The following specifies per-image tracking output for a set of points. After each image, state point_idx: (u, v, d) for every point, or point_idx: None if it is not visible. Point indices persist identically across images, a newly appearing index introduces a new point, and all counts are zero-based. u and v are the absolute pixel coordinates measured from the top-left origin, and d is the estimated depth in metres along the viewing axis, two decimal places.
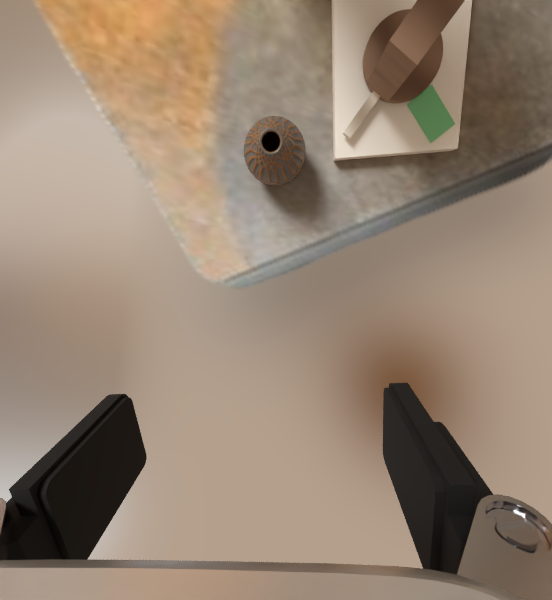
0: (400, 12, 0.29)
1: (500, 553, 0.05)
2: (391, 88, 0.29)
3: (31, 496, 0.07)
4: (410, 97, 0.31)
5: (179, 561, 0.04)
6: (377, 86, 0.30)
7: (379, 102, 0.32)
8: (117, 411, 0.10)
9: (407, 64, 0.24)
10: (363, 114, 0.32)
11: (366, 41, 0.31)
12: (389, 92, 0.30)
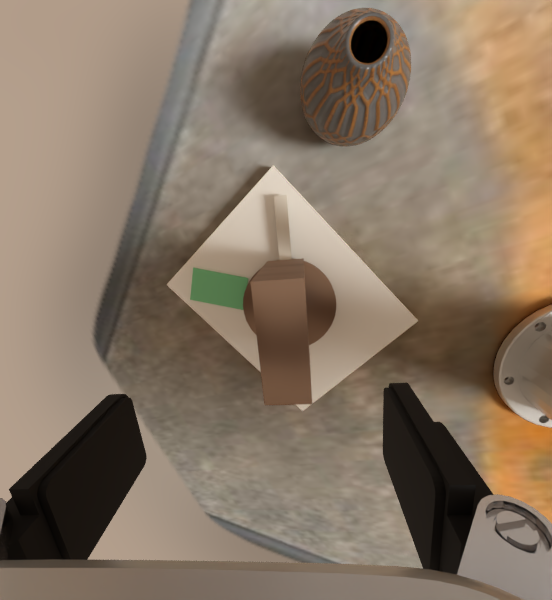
0: (323, 333, 0.25)
1: (500, 553, 0.05)
2: (270, 265, 0.21)
3: (31, 496, 0.07)
4: (249, 282, 0.24)
5: (179, 561, 0.04)
6: (288, 261, 0.23)
7: (276, 258, 0.25)
8: (117, 411, 0.10)
9: (264, 278, 0.17)
10: (280, 230, 0.23)
11: (336, 293, 0.25)
12: (270, 264, 0.22)
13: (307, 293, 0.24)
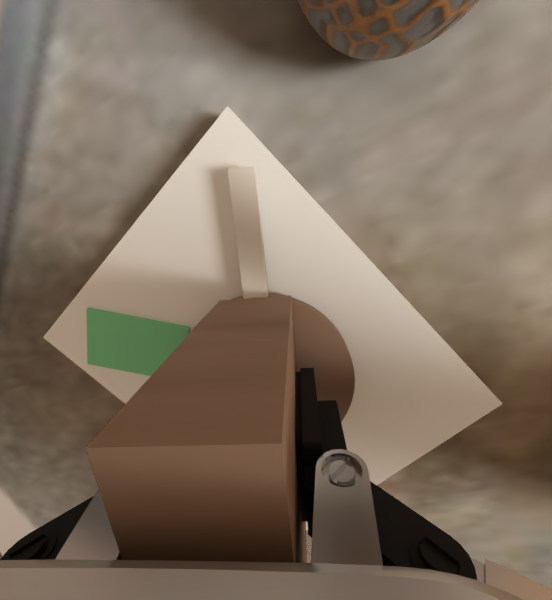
0: None
1: (336, 497, 0.06)
2: (215, 322, 0.09)
3: None
4: None
5: (179, 561, 0.04)
6: (259, 305, 0.11)
7: (240, 291, 0.13)
8: None
9: (151, 413, 0.05)
10: (243, 241, 0.11)
11: (353, 355, 0.14)
12: (219, 313, 0.10)
13: (299, 360, 0.13)
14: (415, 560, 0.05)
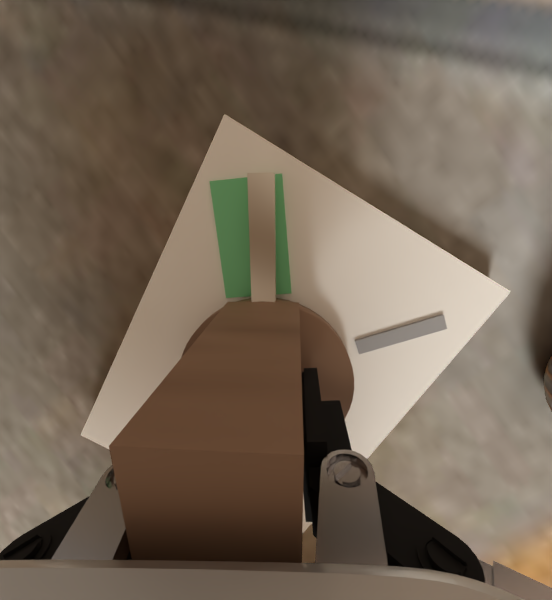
0: None
1: (341, 498, 0.06)
2: (225, 324, 0.10)
3: None
4: (192, 338, 0.13)
5: (179, 561, 0.04)
6: (268, 310, 0.11)
7: (342, 334, 0.13)
8: None
9: (172, 415, 0.05)
10: (256, 245, 0.12)
11: None
12: (229, 315, 0.10)
13: (301, 366, 0.13)
14: (422, 561, 0.05)
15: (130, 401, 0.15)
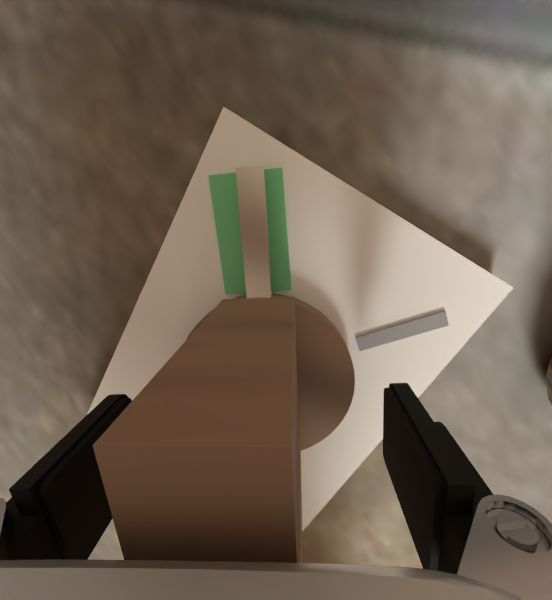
0: (327, 431, 0.14)
1: (500, 553, 0.05)
2: (219, 321, 0.09)
3: (31, 496, 0.07)
4: (189, 338, 0.13)
5: (179, 561, 0.04)
6: (263, 305, 0.11)
7: (342, 330, 0.13)
8: (117, 411, 0.10)
9: (158, 412, 0.05)
10: (249, 240, 0.11)
11: None
12: (223, 312, 0.10)
13: (300, 362, 0.13)
14: None
15: None
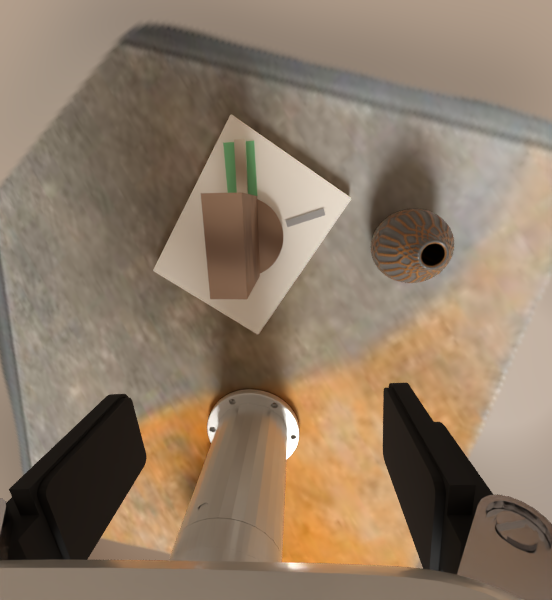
0: (271, 263, 0.30)
1: (500, 553, 0.05)
2: None
3: (31, 496, 0.07)
4: None
5: (179, 561, 0.04)
6: None
7: (280, 217, 0.30)
8: (117, 411, 0.10)
9: None
10: (238, 170, 0.28)
11: (263, 272, 0.32)
12: None
13: (259, 227, 0.29)
14: None
15: (179, 251, 0.32)
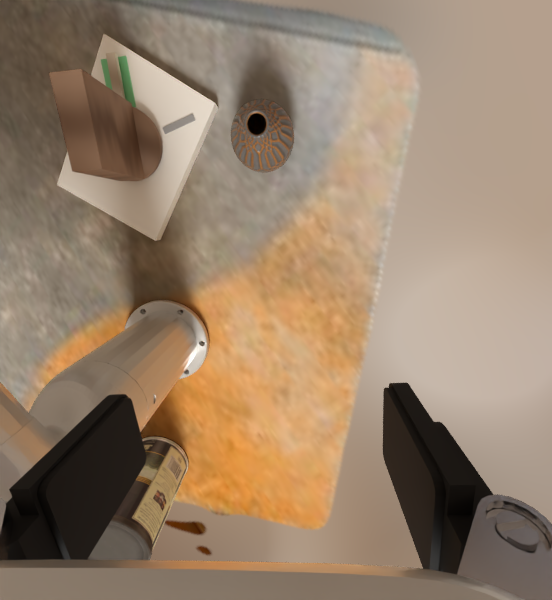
0: (153, 166, 0.34)
1: (500, 553, 0.05)
2: None
3: (31, 496, 0.07)
4: None
5: (179, 561, 0.04)
6: None
7: (157, 125, 0.34)
8: (117, 411, 0.10)
9: None
10: (113, 81, 0.32)
11: (151, 178, 0.36)
12: None
13: (137, 132, 0.33)
14: None
15: None
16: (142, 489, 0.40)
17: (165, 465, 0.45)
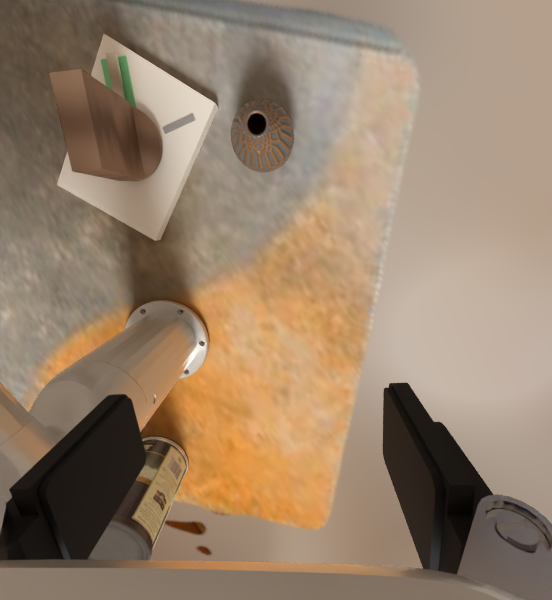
0: (153, 166, 0.34)
1: (500, 553, 0.05)
2: None
3: (31, 496, 0.07)
4: None
5: (179, 561, 0.04)
6: None
7: (157, 125, 0.34)
8: (117, 411, 0.10)
9: None
10: (113, 81, 0.32)
11: (150, 178, 0.36)
12: None
13: (137, 132, 0.33)
14: None
15: None
16: (142, 489, 0.40)
17: (165, 465, 0.45)
